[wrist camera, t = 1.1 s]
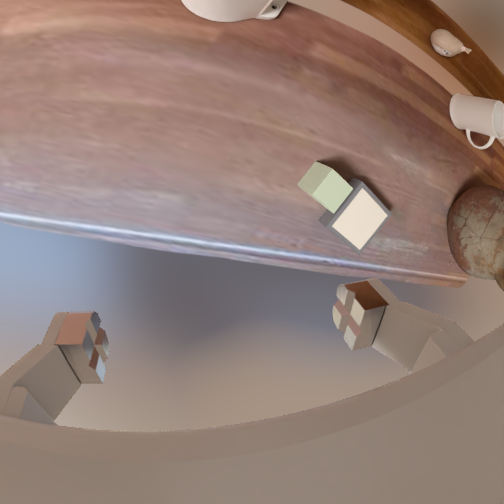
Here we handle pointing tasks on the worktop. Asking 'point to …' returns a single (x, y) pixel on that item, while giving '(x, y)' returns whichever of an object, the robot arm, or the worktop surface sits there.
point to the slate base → (357, 217)
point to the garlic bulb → (447, 43)
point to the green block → (325, 186)
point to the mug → (478, 116)
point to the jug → (478, 232)
